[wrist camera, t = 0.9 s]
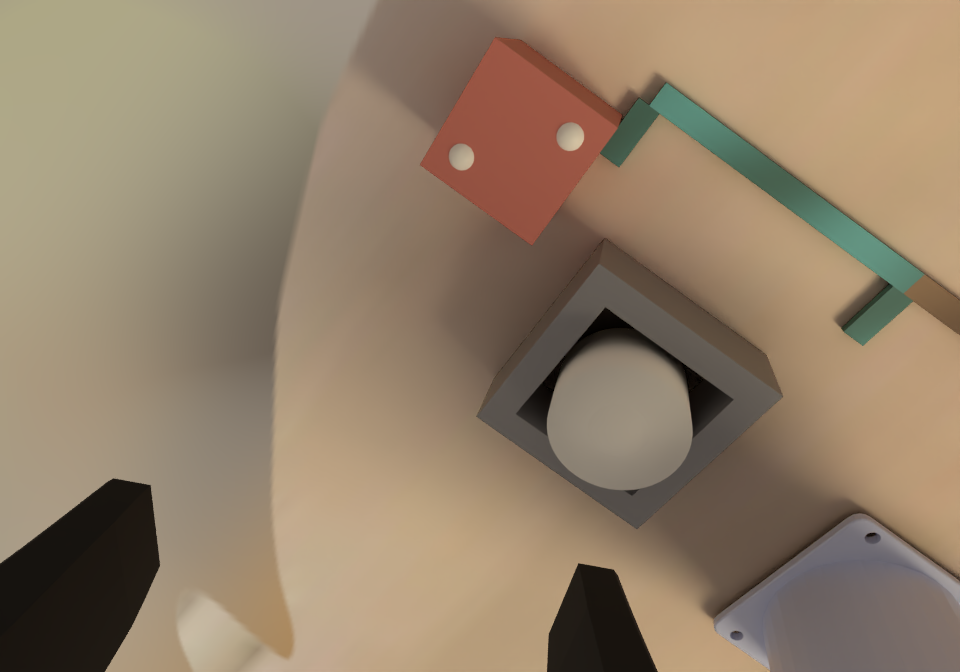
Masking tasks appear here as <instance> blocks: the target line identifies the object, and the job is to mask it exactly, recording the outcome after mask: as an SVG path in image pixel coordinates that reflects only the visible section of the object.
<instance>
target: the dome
mask: <svg viewBox="0 0 960 672" xmlns="http://www.w3.org/2000/svg"><path fill="white" fill-rule="evenodd" d="M547 433H548V438H549V442H550V444H551V447H552V449H553V451H554V453H555V454H556V456H557V458H558V459H559V460H560V462H561V463H562V464H563V465H564V466H565V467H566V468H567V469H568V470H569V471H570V472H572V473H573V474H574V475H576V476H577V477H579V478H580V479H582V480H584V481H586V482H588V483H590V484H593V485H596V486H599V487H602V488H607V489H613V490H636V489H641V488H645V487H648V486H652V485H654V484H656V483H659V482H661V481H662V480H664V479H666V478H667V477H669V476H670V475H671V474H672V473H674V472H675V471H676V470H677V469H678V468H679V467H680V466H681V464H682V463H683V461H684V460H685V458H686V456H687V454H688V452H689V450H690V446H691V443H692V436H693V430H692V419H691V411H690V403H689V395H688V387H687V379H686V374H685V371H684V368H683V365H682V363H681V361H680V360H678V359H677V358H675V357H674V356H673V355H671V354H670V353H668V352H667V351H666V350H664V349H663V348H661V347H660V346H659V345H657V344H656V343H655V342H653V341H652V340H650V339H649V338H648V337H646V336H645V335H643V334H642V333H641V332H639V331H638V330H634V329H628V328H612V329H606V330H602V331H599V332H596V333H593V334H591V335H589V336H587V337H585V338H584V339H582V340H581V341H579V342H578V343H577V344H576V345H575V346H574V347H573V348H572V349H571V350H570V351H569V352H568V354H567V355H566V357H565V359H564V360H563V362H562V365H561V368H560V371H559V375H558V378H557V382H556V386H555V389H554V393H553V397H552V400H551V404H550V408H549V411H548V417H547Z"/></svg>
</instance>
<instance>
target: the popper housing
mask: <svg viewBox="0 0 960 672" xmlns="http://www.w3.org/2000/svg"><path fill="white" fill-rule="evenodd" d="M605 307H606V308H607V309H609V310H610V311H611V312H613V313H614V314H616V315H617V316H618V317H620V318H621V319H623V320H624V321H625V322H627V323H628V324H630V325H631V326H632V327H634V328H635V329H636V330H638V331H639V332H641V333H642V334H643V335H645V336H646V337H648V338H649V339H650V340H652V341H653V342H655V343H656V344H657V345H659V346H660V347H661V348H663V349H664V350H666V351H667V352H668V353H670V354H671V355H673V356H674V357H675V358H677V359H678V360H680V361H681V362H682V363H684V364H685V365H686V366H688V367H689V368H691V369H692V370H693V371H695V372H696V373H698V374H699V375H700V376H702V377H703V378H705V379H704V380H703V381H702V382H701V383H700V384H699V385H698V386H697V387H696V388H695V389H694V390H693V391H692V392H691V393H690V394H689V403H690V411H691V419H692V430H693V436H692V443H691V446H690V450H689V452H688V454H687V456H686V458H685V460H684V461H683V463H682V464H681V466H680V467H679V468H678V469H677V470H676V471H675V472H674V473H672V474H671V475H670V476H669V477H667V478H666V479H664V480H662V481H661V482H659V483H656V484H654V485H652V486H648V487H645V488H641V489H636V490H613V489H607V488H602V487H599V486H596V485H593V484H590V483H588V482H586V481H584V480H582V479H580V478H579V477H577V476H576V475H574V474H573V473H572V472H570V471H569V470H568V469H567V468H566V467H565V466H564V465H563V464H562V463H561V462H560V460H559V459H558V458H557V456H556V454H555V453H554V451H553V449H552V447H551V444H550V442H549V438H548V433H547V417H548V411H549V408H550V404H551V400H552V397H553V393H554V392H552V391H551V390H549V389H548V388H547V387H545V386H544V385H542V384H541V383H542V382H543V381H544V380H545V378H546V377H547V376H548V375H549V374H550V372H551V371H552V370H553V369H554V368H555V366H556V365H557V364H558V363H559V362H560V360H561V359H562V358H563V357H564V356H565V355H566V353H567V352H568V351H569V350H570V349H571V347H572V346H573V345H574V344H575V343H576V341H577V340H578V339H579V338H580V337H581V336H582V334H583V333H584V332H585V331H586V330H587V328H588V327H589V326H590V325H591V324H592V322H593V321H594V320H595V319H596V318H597V317H598V315H599V314H600V313H601V312H602V311H603V309H604V308H605ZM782 397H783V395H782V393H781V390H780V387H779V385H778V382H777V380H776V377H775V375H774V372H773V370H772V367H771V365H770V362H769V360H768V357H767V355H765V354H764V353H762V352H761V351H760V350H758V349H757V348H756V347H754V346H753V345H751V344H750V343H749V342H747V341H746V340H745V339H743V338H742V337H740V336H739V335H738V334H736V333H735V332H734V331H732V330H731V329H729V328H728V327H727V326H725V325H724V324H722V323H721V322H720V321H718V320H717V319H716V318H714V317H713V316H711V315H710V314H709V313H707V312H706V311H705V310H703V309H702V308H700V307H699V306H698V305H696V304H695V303H694V302H692V301H691V300H689V299H688V298H687V297H685V296H684V295H682V294H681V293H680V292H678V291H677V290H676V289H674V288H673V287H671V286H670V285H669V284H667V283H666V282H665V281H663V280H662V279H660V278H659V277H658V276H656V275H655V274H654V273H652V272H651V271H649V270H648V269H647V268H645V267H644V266H642V265H641V264H640V263H638V262H637V261H636V260H634V259H633V258H631V257H630V256H629V255H627V254H626V253H625V252H623V251H622V250H620V249H619V248H618V247H616V246H615V245H614V244H612V243H611V242H609V241H608V240H607V239H604V240H603V241H602V242H601V244H600V245H599V246H598V248H597V249H596V250H595V251H594V253H593V254H592V255H591V256H590V258H589V259H588V260H587V261H586V263H585V264H584V265H583V267H582V268H581V269H580V270H579V272H578V273H577V274H576V275H575V277H574V278H573V279H572V280H571V282H570V283H569V284H568V286H567V287H566V288H565V289H564V291H563V292H562V293H561V294H560V296H559V297H558V298H557V299H556V301H555V302H554V303H553V305H552V306H551V307H550V308H549V310H548V311H547V312H546V313H545V315H544V316H543V317H542V318H541V320H540V321H539V322H538V324H537V325H536V326H535V327H534V329H533V330H532V331H531V332H530V334H529V335H528V336H527V337H526V339H525V340H524V341H523V343H522V344H521V345H520V346H519V348H518V349H517V350H516V351H515V353H514V354H513V355H512V356H511V358H510V359H509V360H508V362H507V363H506V364H505V365H504V367H503V368H502V369H501V370H500V372H499V373H498V374H497V375H496V377H495V378H494V380H493V382H492V384H491V386H490V389H489V391H488V393H487V395H486V397H485V399H484V401H483V404H482V406H481V408H480V410H479V412H478V414H477V416H476V417H478V418H479V419H481V420H482V421H483V422H485V423H486V424H488V425H489V426H491V427H492V428H493V429H495V430H496V431H498V432H499V433H501V434H502V435H503V436H505V437H506V438H508V439H509V440H511V441H512V442H513V443H515V444H516V445H518V446H519V447H520V448H522V449H523V450H525V451H526V452H528V453H529V454H530V455H532V456H533V457H535V458H536V459H538V460H539V461H540V462H542V463H543V464H545V465H546V466H548V467H549V468H550V469H552V470H553V471H555V472H556V473H557V474H559V475H560V476H562V477H563V478H565V479H566V480H567V481H569V482H570V483H572V484H573V485H575V486H576V487H577V488H579V489H580V490H582V491H583V492H585V493H586V494H587V495H589V496H590V497H592V498H593V499H595V500H596V501H597V502H599V503H600V504H602V505H603V506H604V507H606V508H607V509H609V510H610V511H612V512H613V513H614V514H616V515H617V516H619V517H620V518H622V519H623V520H624V521H626V522H627V523H629V524H630V525H632V526H633V527H634V528H636V529H638V528H639V527H640V526H641V525H642V524H643V523H644V522H645V521H646V520H648V519H649V518H650V517H651V516H652V515H653V514H654V513H655V512H656V511H658V510H659V509H660V508H661V507H662V506H663V505H664V504H665V503H666V502H667V501H669V500H670V499H671V498H672V497H673V496H674V495H675V494H676V493H677V492H678V491H680V490H681V489H682V488H683V487H684V486H685V485H686V484H687V483H688V482H689V481H691V480H692V479H693V478H694V477H695V476H696V475H697V474H698V473H699V472H700V471H702V470H703V469H704V468H705V467H706V466H707V465H708V464H709V463H710V462H711V461H713V460H714V459H715V458H716V457H717V456H718V455H719V454H720V453H721V452H722V451H724V450H725V449H726V448H727V447H728V446H729V445H730V444H731V443H732V442H733V441H735V440H736V439H737V438H738V437H739V436H740V435H741V434H742V433H743V432H744V431H746V430H747V429H748V428H749V427H750V426H751V425H752V424H753V423H754V422H756V421H757V420H758V419H759V418H760V417H761V416H762V415H763V414H764V413H765V412H767V411H768V410H769V409H770V408H771V407H772V406H773V405H774V404H775V403H776V402H778V401H779V400H780V399H781V398H782Z"/></svg>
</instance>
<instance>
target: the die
mask: <svg viewBox="0 0 960 672" xmlns="http://www.w3.org/2000/svg"><path fill="white" fill-rule="evenodd" d="M621 118H622V114H620V113H619V112H618V111H616V110H615V109H613V108H612V107H611V106H609V105H608V104H607V103H605V102H604V101H603V100H601V99H600V98H599V97H597V96H596V95H595V94H593V93H592V92H590V91H589V90H588V89H586V88H585V87H584V86H582V85H581V84H580V83H578V82H577V81H576V80H574V79H573V78H572V77H570V76H569V75H567V74H566V73H565V72H563V71H562V70H561V69H559V68H558V67H557V66H555V65H554V64H553V63H551V62H550V61H549V60H547V59H546V58H544V57H543V56H542V55H540V54H539V53H538V52H536V51H535V50H534V49H532V48H531V47H530V46H528V45H527V44H525V43H524V42H523V41H521V40H517V39H507V38H496V37H495V38H494V40H493V42H492V43H491V45H490V47H489V49H488V50H487V52H486V54H485V55H484V57H483V59H482V60H481V62H480V64H479V65H478V67H477V69H476V71H475V72H474V74H473V76H472V77H471V79H470V81H469V82H468V84H467V86H466V87H465V89H464V91H463V93H462V94H461V96H460V98H459V99H458V101H457V103H456V104H455V106H454V108H453V110H452V111H451V113H450V115H449V116H448V118H447V120H446V121H445V123H444V125H443V126H442V128H441V130H440V132H439V133H438V135H437V137H436V138H435V140H434V142H433V143H432V145H431V147H430V148H429V150H428V152H427V154H426V155H425V157H424V159H423V160H422V162H421V164H420V165H421V166H422V167H424V168H425V169H426V170H428V171H429V172H430V173H432V174H433V175H435V176H436V177H437V178H439V179H440V180H442V181H443V182H444V183H446V184H447V185H449V186H450V187H451V188H453V189H454V190H455V191H457V192H458V193H460V194H461V195H462V196H464V197H465V198H467V199H468V200H469V201H471V202H472V203H473V204H475V205H476V206H478V207H479V208H480V209H482V210H483V211H485V212H486V213H487V214H489V215H490V216H492V217H493V218H494V219H496V220H497V221H498V222H500V223H501V224H503V225H504V226H505V227H507V228H508V229H510V230H511V231H512V232H514V233H515V234H516V235H518V236H519V237H521V238H522V239H523V240H525V241H526V242H528V243H529V244H530V245H533V243H534V242H535V241H536V239H537V238H538V236H539V235H540V234H541V232H542V231H543V230H544V228H545V227H546V226H547V224H548V223H549V221H550V220H551V219H552V217H553V216H554V215H555V213H556V212H557V211H558V209H559V208H560V206H561V205H562V204H563V202H564V201H565V200H566V198H567V197H568V195H569V194H570V193H571V191H572V190H573V189H574V187H575V186H576V185H577V183H578V182H579V180H580V179H581V178H582V176H583V175H584V174H585V172H586V171H587V170H588V168H589V167H590V165H591V164H592V163H593V161H594V160H595V159H596V157H597V156H598V154H599V153H600V152H601V150H602V149H603V148H604V146H605V145H606V144H607V142H608V141H609V139H610V138H611V137H612V135H613V134H614V133H615V131H616V130H617V129H618V126H619V123H620V121H621Z"/></svg>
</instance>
